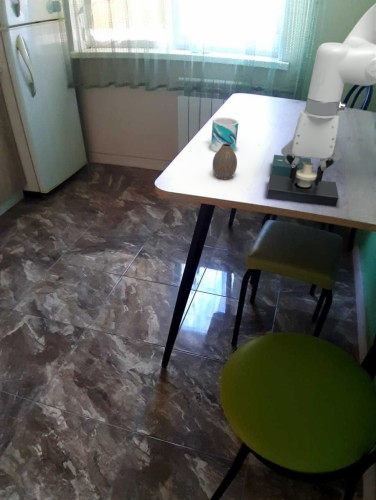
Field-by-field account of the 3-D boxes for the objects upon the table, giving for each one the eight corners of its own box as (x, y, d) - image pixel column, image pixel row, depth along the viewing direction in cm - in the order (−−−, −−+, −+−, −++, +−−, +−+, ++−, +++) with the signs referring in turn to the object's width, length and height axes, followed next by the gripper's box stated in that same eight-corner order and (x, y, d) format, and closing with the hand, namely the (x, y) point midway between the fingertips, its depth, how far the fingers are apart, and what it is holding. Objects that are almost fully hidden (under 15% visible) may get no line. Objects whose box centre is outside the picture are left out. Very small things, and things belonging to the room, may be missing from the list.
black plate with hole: (333, 190, 114) (335, 181, 112) (335, 206, 107) (338, 197, 105) (268, 183, 116) (270, 174, 114) (266, 198, 109) (268, 189, 107)
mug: (208, 150, 133) (210, 123, 127) (214, 139, 141) (217, 112, 136) (233, 153, 132) (236, 125, 126) (238, 141, 140) (241, 115, 135)
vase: (214, 181, 115) (217, 149, 109) (209, 172, 120) (211, 140, 114) (238, 181, 116) (242, 149, 110) (232, 171, 121) (235, 140, 115)
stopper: (314, 181, 111) (319, 161, 108) (314, 189, 107) (320, 169, 104) (293, 179, 112) (297, 158, 108) (293, 187, 108) (297, 166, 104)
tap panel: (308, 168, 125) (311, 157, 123) (309, 180, 119) (311, 169, 117) (272, 164, 126) (274, 153, 124) (271, 175, 120) (273, 165, 118)
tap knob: (299, 159, 122) (304, 141, 118) (300, 165, 119) (304, 146, 115) (284, 158, 122) (288, 139, 119) (284, 163, 119) (288, 144, 116)
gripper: (357, 106, 98) (336, 180, 111) (285, 100, 100) (272, 173, 113) (361, 115, 93) (338, 192, 106) (284, 108, 95) (271, 184, 107)
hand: (304, 181), depth 109 cm, fingers closed on stopper, 5 cm apart
